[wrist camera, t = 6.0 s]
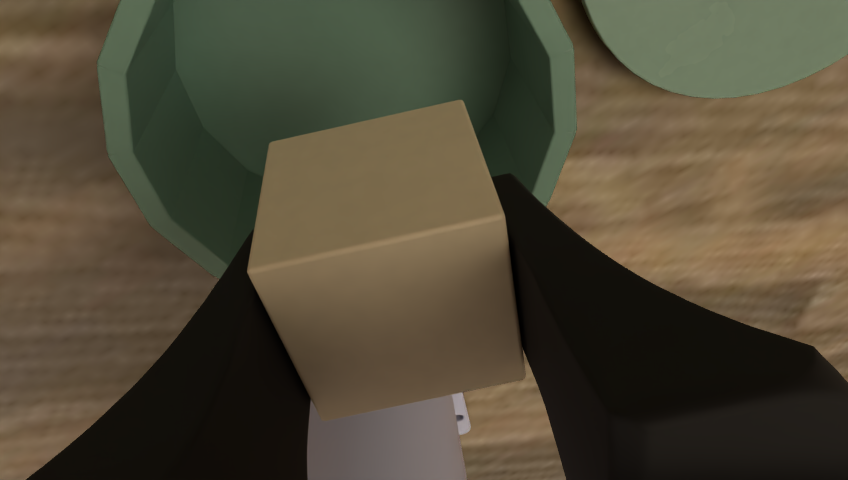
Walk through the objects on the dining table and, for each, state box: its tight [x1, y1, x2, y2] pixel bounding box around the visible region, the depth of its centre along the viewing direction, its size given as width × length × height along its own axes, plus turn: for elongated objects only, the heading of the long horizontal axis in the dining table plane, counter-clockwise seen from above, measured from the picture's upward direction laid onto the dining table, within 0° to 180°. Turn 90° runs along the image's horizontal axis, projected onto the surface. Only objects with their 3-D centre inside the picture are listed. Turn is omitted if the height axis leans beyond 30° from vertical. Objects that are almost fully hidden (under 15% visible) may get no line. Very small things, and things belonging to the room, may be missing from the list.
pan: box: [97, 0, 577, 279], centre depth 17 cm, size 11×11×6 cm
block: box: [247, 100, 526, 421], centre depth 12 cm, size 4×4×4 cm
